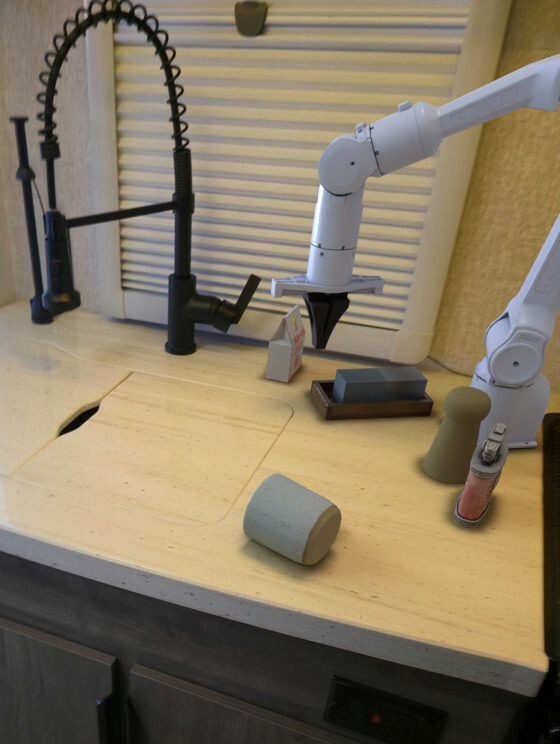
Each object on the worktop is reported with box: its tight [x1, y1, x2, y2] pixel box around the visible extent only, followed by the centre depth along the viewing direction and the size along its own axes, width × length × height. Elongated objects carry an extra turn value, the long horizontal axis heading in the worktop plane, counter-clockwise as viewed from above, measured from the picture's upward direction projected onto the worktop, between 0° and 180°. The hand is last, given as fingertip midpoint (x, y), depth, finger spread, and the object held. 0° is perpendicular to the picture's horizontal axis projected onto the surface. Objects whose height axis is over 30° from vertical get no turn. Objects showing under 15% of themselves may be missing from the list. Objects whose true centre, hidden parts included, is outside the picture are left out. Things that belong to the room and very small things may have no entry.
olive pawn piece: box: [422, 385, 491, 484], centre depth 81 cm, size 6×6×11 cm
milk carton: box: [265, 304, 307, 384], centre depth 104 cm, size 4×7×10 cm, turn 154°
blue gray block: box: [332, 367, 387, 403], centre depth 96 cm, size 6×4×4 cm
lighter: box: [453, 423, 509, 528], centre depth 75 cm, size 8×3×10 cm, turn 148°
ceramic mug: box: [242, 472, 342, 566], centre depth 70 cm, size 11×8×8 cm
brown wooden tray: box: [309, 366, 435, 421], centre depth 97 cm, size 16×8×5 cm, turn 96°
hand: (318, 346), depth 92 cm, fingers closed
